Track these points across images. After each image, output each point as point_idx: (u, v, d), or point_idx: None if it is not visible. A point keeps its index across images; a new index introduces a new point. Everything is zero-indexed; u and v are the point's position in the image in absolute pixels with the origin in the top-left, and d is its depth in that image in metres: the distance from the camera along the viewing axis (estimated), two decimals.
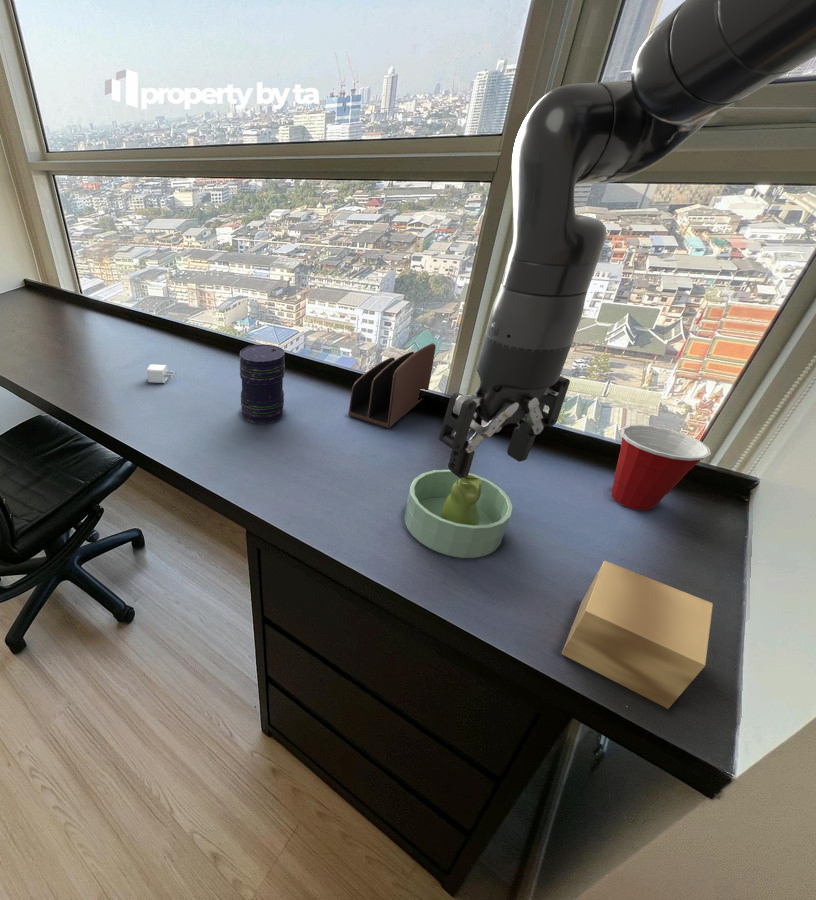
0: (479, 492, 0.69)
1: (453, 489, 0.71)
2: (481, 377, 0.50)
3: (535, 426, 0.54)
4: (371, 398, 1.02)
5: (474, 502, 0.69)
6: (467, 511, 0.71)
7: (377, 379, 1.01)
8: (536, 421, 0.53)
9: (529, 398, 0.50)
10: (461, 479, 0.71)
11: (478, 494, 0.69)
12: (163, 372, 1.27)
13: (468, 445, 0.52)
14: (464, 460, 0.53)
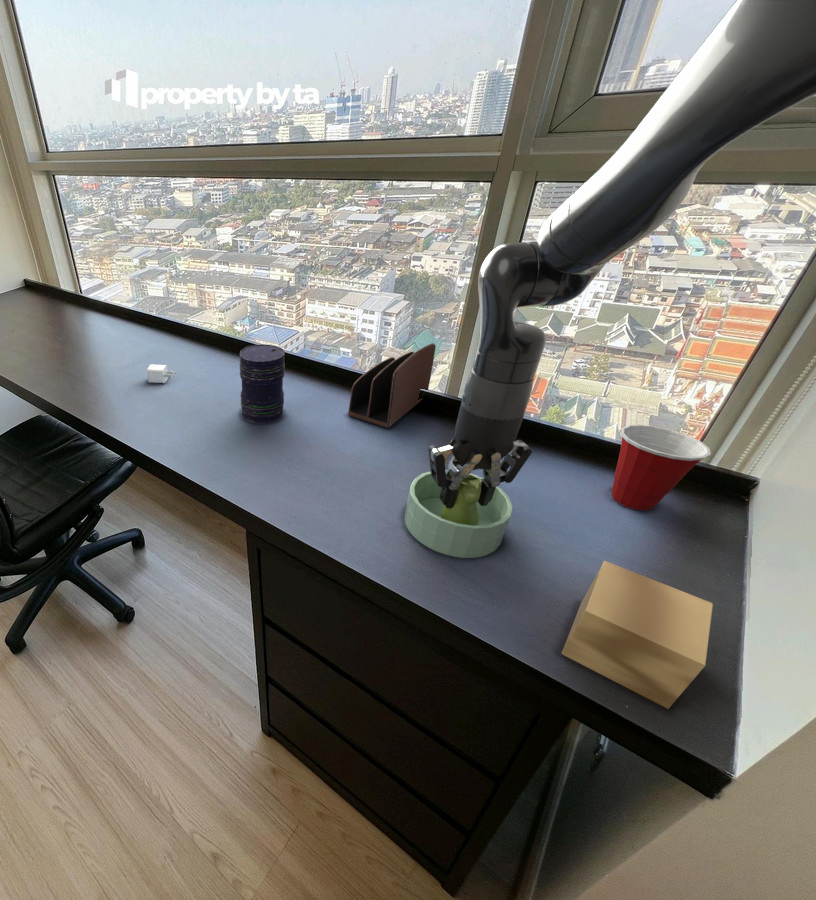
0: (479, 492, 0.69)
1: None
2: (455, 431, 0.67)
3: (491, 480, 0.69)
4: (371, 398, 1.02)
5: (474, 502, 0.69)
6: (466, 511, 0.71)
7: (377, 379, 1.01)
8: (495, 474, 0.68)
9: (493, 452, 0.66)
10: None
11: (478, 494, 0.69)
12: (163, 372, 1.27)
13: (451, 484, 0.69)
14: (449, 495, 0.71)
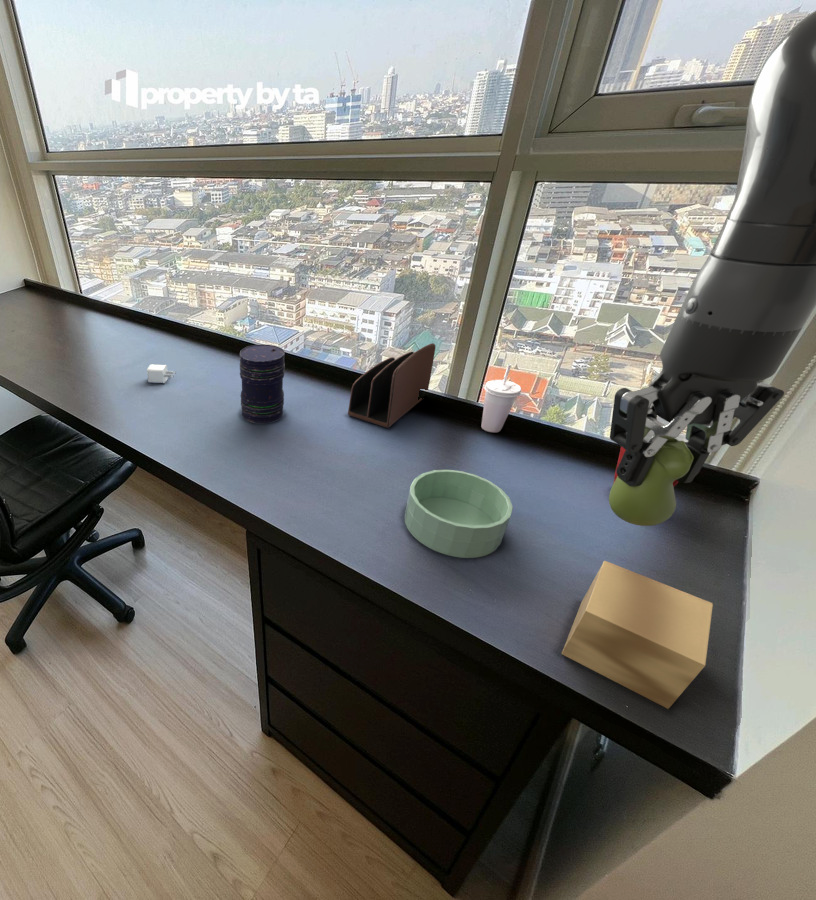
0: (690, 459, 0.45)
1: None
2: (664, 363, 0.43)
3: (709, 442, 0.45)
4: (370, 398, 1.02)
5: (681, 475, 0.46)
6: (664, 490, 0.47)
7: (376, 379, 1.01)
8: (720, 431, 0.44)
9: (728, 395, 0.42)
10: None
11: (689, 462, 0.45)
12: (163, 372, 1.27)
13: (647, 448, 0.46)
14: (639, 465, 0.47)
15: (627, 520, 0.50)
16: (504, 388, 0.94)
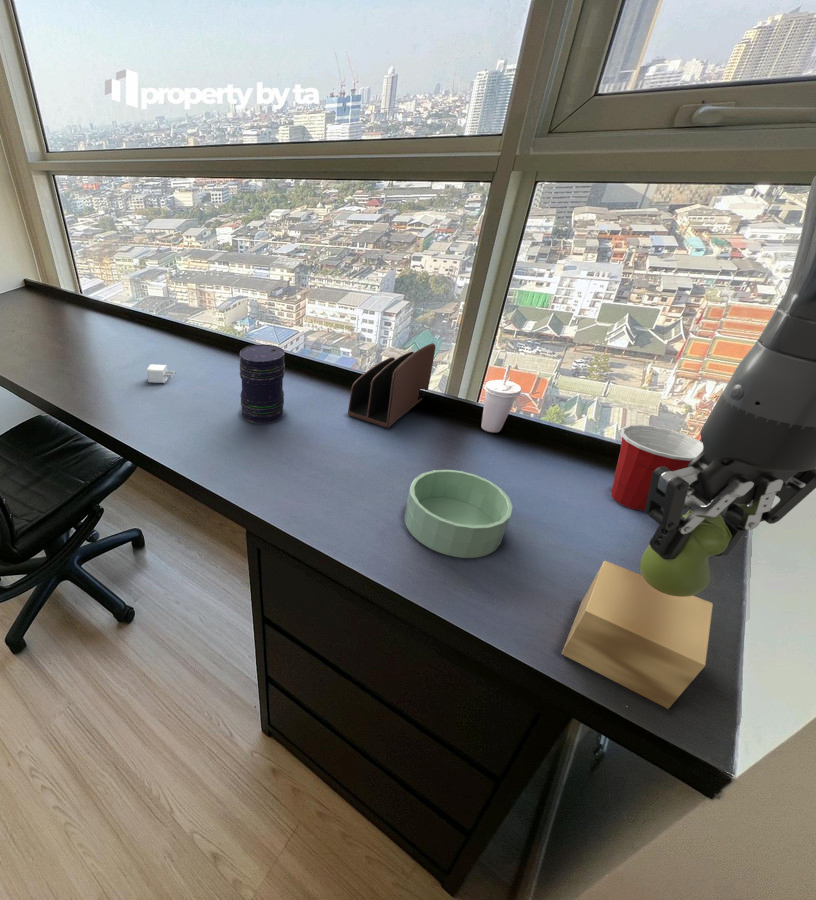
0: (728, 538, 0.45)
1: None
2: (705, 444, 0.42)
3: (747, 520, 0.45)
4: (370, 398, 1.02)
5: (718, 552, 0.45)
6: (700, 565, 0.47)
7: (376, 379, 1.01)
8: (760, 511, 0.43)
9: (770, 479, 0.41)
10: None
11: (727, 541, 0.45)
12: (163, 372, 1.27)
13: (684, 525, 0.45)
14: (674, 540, 0.46)
15: (659, 590, 0.50)
16: (504, 388, 0.94)
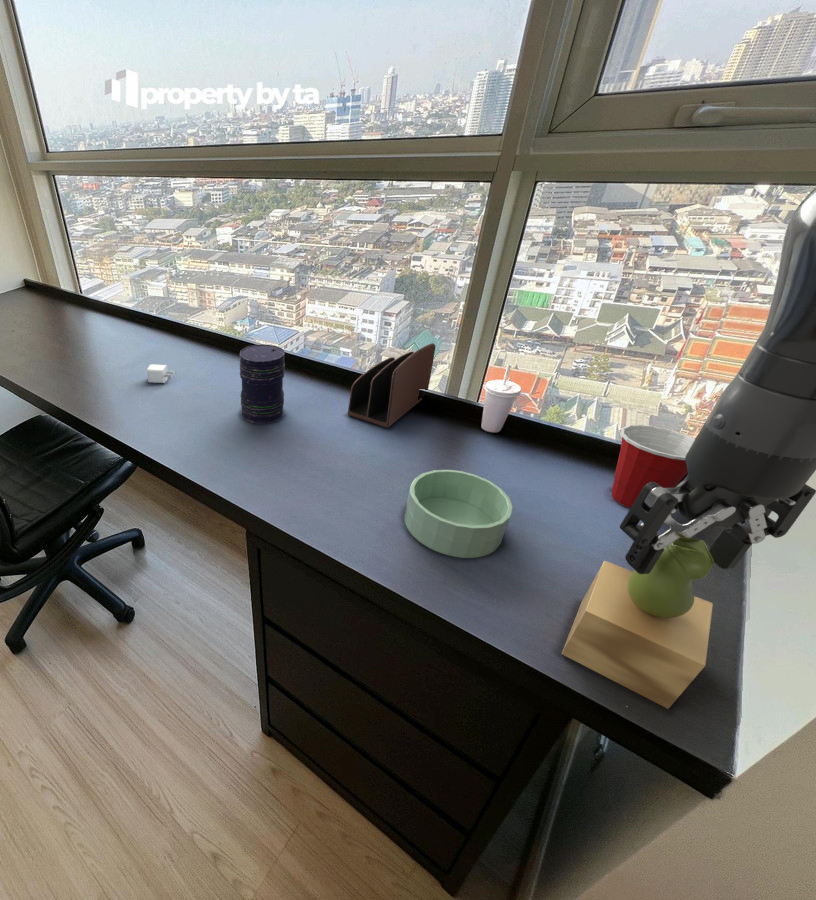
0: (711, 563, 0.46)
1: (661, 555, 0.49)
2: (690, 470, 0.44)
3: (754, 534, 0.46)
4: (370, 398, 1.02)
5: (701, 577, 0.47)
6: (684, 588, 0.48)
7: (376, 379, 1.01)
8: (756, 530, 0.45)
9: (752, 504, 0.43)
10: (675, 541, 0.48)
11: (709, 566, 0.47)
12: (163, 372, 1.27)
13: (657, 541, 0.46)
14: (648, 556, 0.48)
15: (645, 611, 0.52)
16: (504, 388, 0.94)
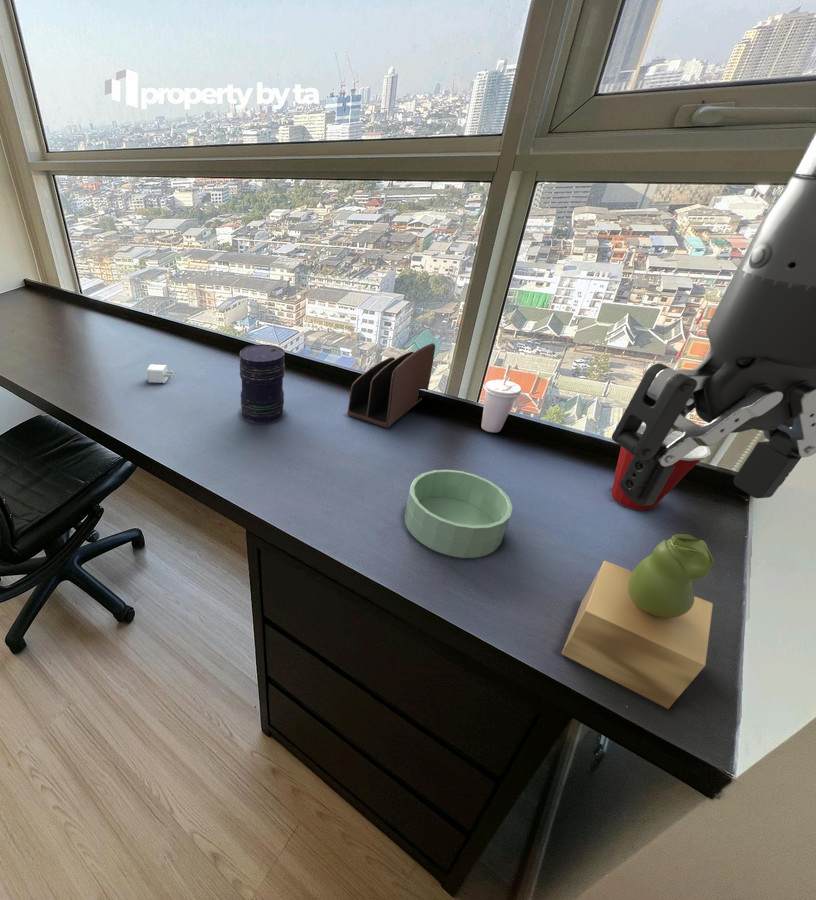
0: (711, 563, 0.46)
1: (661, 555, 0.49)
2: (714, 343, 0.30)
3: (804, 442, 0.32)
4: (370, 398, 1.02)
5: (701, 577, 0.47)
6: (684, 588, 0.48)
7: (376, 379, 1.01)
8: (810, 433, 0.31)
9: (807, 388, 0.29)
10: (675, 541, 0.48)
11: (709, 566, 0.47)
12: (163, 372, 1.27)
13: (665, 453, 0.32)
14: (652, 477, 0.34)
15: (645, 611, 0.52)
16: (504, 388, 0.94)
